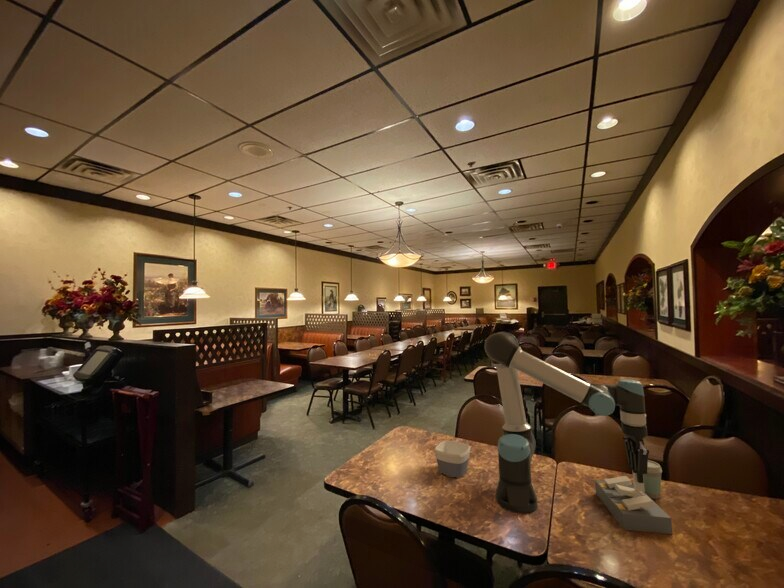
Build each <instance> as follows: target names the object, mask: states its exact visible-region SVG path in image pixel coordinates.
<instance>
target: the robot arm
mask: <svg viewBox="0 0 784 588" xmlns="http://www.w3.org/2000/svg"><path fill="white" fill-rule="evenodd" d="M518 341H519V340H518V338H517V337H516V336H515V335H514V334H512V333H511V332H506V331H498V332H496V333H492V334H490V335H489V336H488V337H487V338H486V339H485V341H484V351H485V353H486V356H488V357H489V359H491V364H492V366H494V367H495V368H496V373H497V379H498V386H499V392H500V399H501V403H502V410H503V416H504V424H503V425H502V433H503V435H502V436H500V437H499V439H498V441H497V455H498V473H499V474H498V475H499V476H498V478H499V480H498V483H497V485H496V489H495V501H496V503H497V504H498V505H499V506H500V507H501V508H503V509H505V510H507V511H510V512H513V513H517V514H529V513H533V512H534V511H537V508H538V496H537V495H536V492H535V489H534V486H533V483H532V471H531V470H532V469H531V464H532V463H531V461H532V459H533V456H534V453H535V451H536V448H537V445H536V444H537V443H536V439H535V435H534V434H533V430H532V425H530V423H528V422H527V418H526V411H525V405H524V400H523V394H522V388H521V383H520V377H519V372H521V373H523V374H525V375H528V377H531V378H533V379H535V380H536V381H539V382H541V383H543V384H544V385H545V386H548V387H549V388H552V389H554V390H556V391H557V392H559V393H561V394H563V395H566V396H567V397H569V398H571V399H573V400H575V401H577V402H578V403H580V404H582V405H583V406H586V407H588V408H589V409H590V410H591V411H592V412H593V413H594V414H596V415H598V416H601V417H607V416H609V415H612V414H613V413H614V412H615V408H616V406H617V407H618V406H619V415H620V421H621V424H620V426H621V432H622V434H624V435H625V436H622V440H623V442H624V446H625V447H624V448H625V453H626V458H627V463H628V466H630V468H631V471H632V481H633V482H632V483H633V484H634V489H635V490H636V491H642V492H645V489H644V477H643V474H647V466H648V460H649V455H650V450H649V448H646V447H645V441H644V438H646V437H648V426H647V416H648V415H647V414H646V401H645V393H644V386H643V383H642V382H641V381H639V380H636V379H627V378H626V379H618V381H617V384H606V383H594V382H587V381H584V380H583V379H580V378H578V377H576V376H574V375H572V374H571V373H568V372H566V371H565V370H562V369H560V368H558V367H556V366H554V365H552V364H550V363H548V362H547V361H544V360H542V359H540V358H538V357H537V356H534V355H532V354H530V353H528V352H527V351H524V350H523V349H522V347H521V346H519V345H520V344H519V342H518ZM518 371H519V372H518Z"/></svg>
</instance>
